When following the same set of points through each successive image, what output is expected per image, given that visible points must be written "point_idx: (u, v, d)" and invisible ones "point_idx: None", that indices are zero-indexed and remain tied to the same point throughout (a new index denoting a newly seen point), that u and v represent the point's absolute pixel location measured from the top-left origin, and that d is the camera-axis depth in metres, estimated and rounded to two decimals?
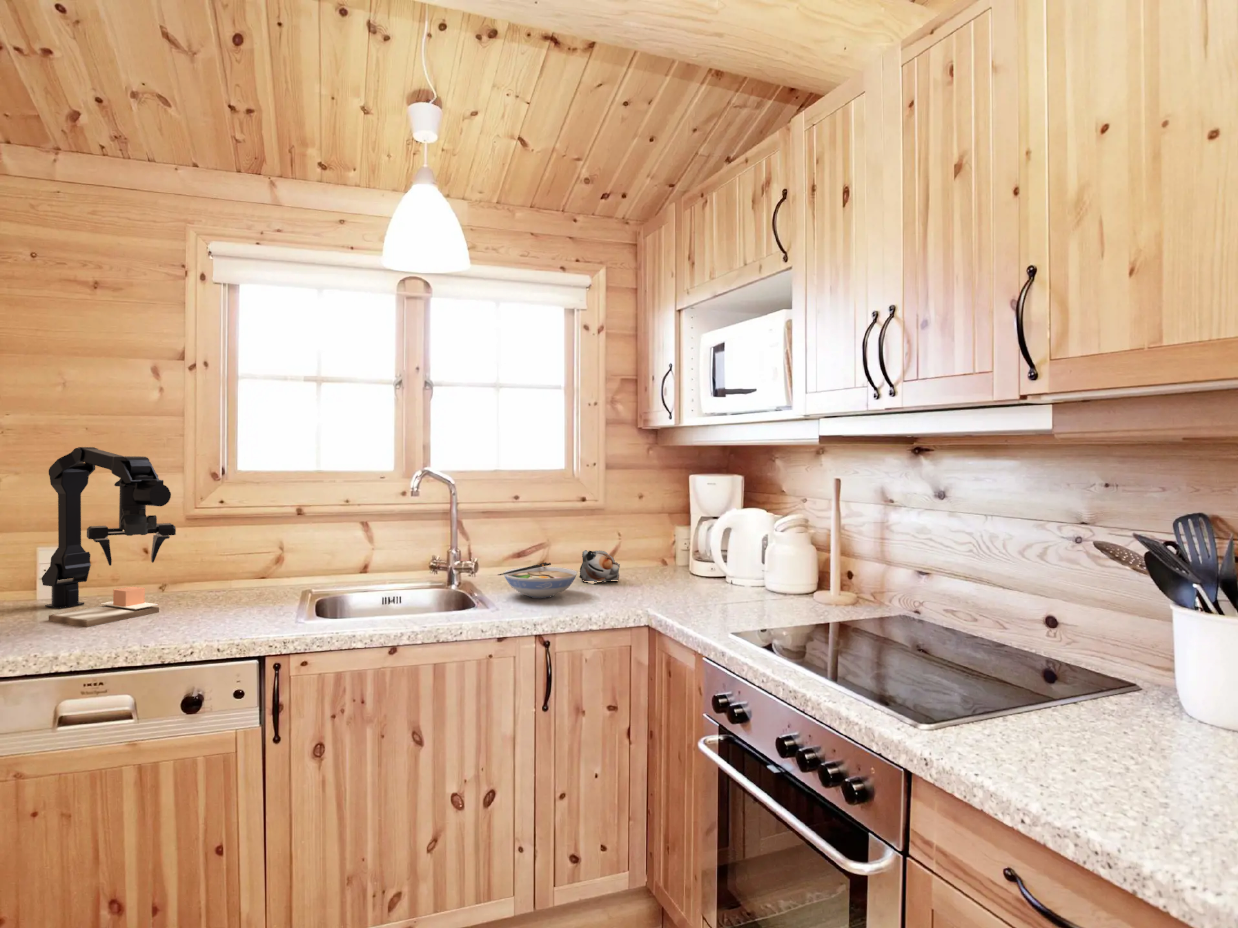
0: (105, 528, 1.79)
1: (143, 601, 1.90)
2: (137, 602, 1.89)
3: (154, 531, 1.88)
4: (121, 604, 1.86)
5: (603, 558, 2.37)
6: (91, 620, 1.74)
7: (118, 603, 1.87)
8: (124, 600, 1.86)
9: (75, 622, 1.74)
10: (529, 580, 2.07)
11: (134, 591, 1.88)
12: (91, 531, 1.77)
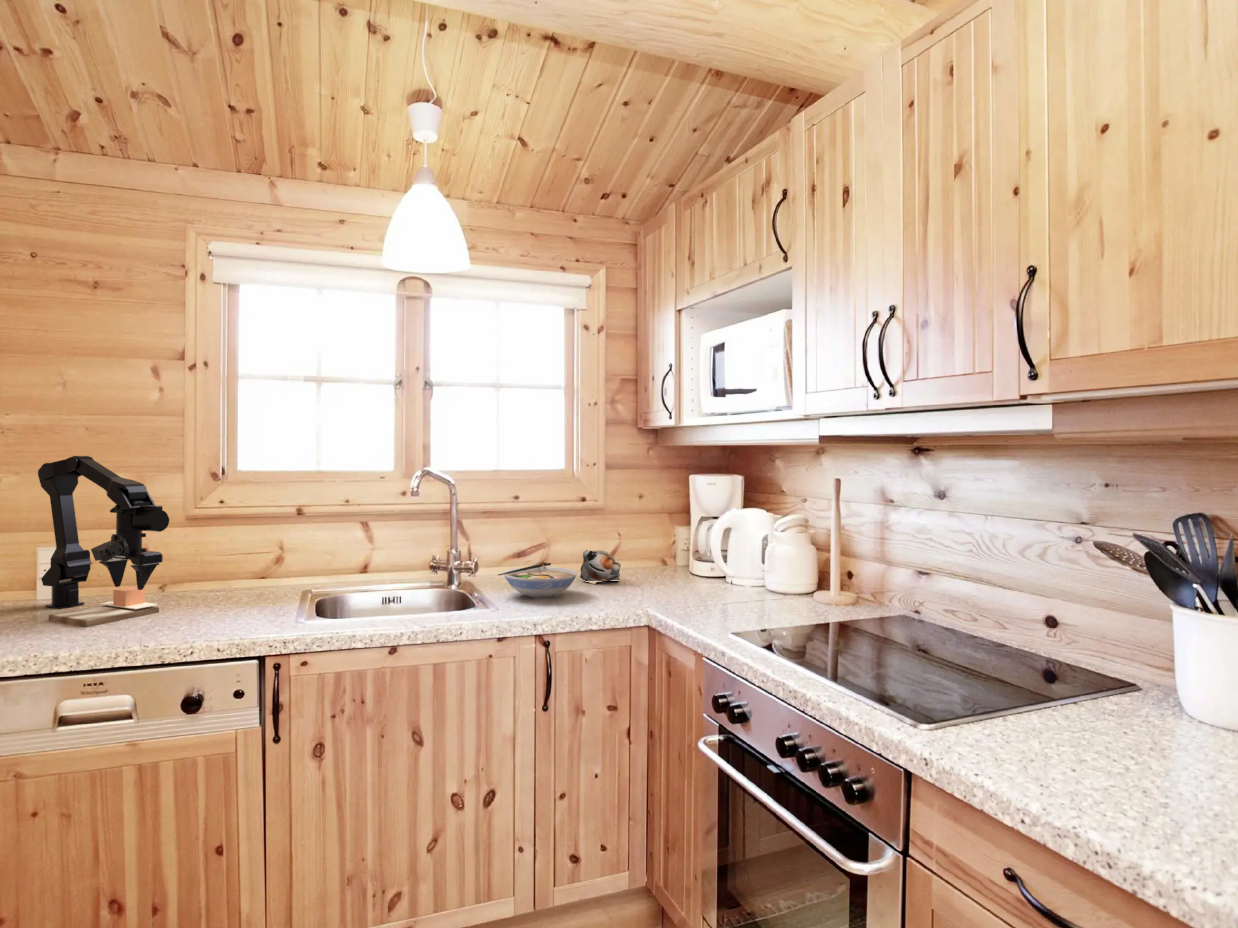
0: None
1: (143, 601, 1.90)
2: (137, 602, 1.89)
3: None
4: (121, 604, 1.86)
5: (604, 558, 2.37)
6: (91, 620, 1.74)
7: (118, 603, 1.87)
8: (124, 600, 1.86)
9: (75, 622, 1.74)
10: (529, 580, 2.07)
11: (134, 591, 1.88)
12: None
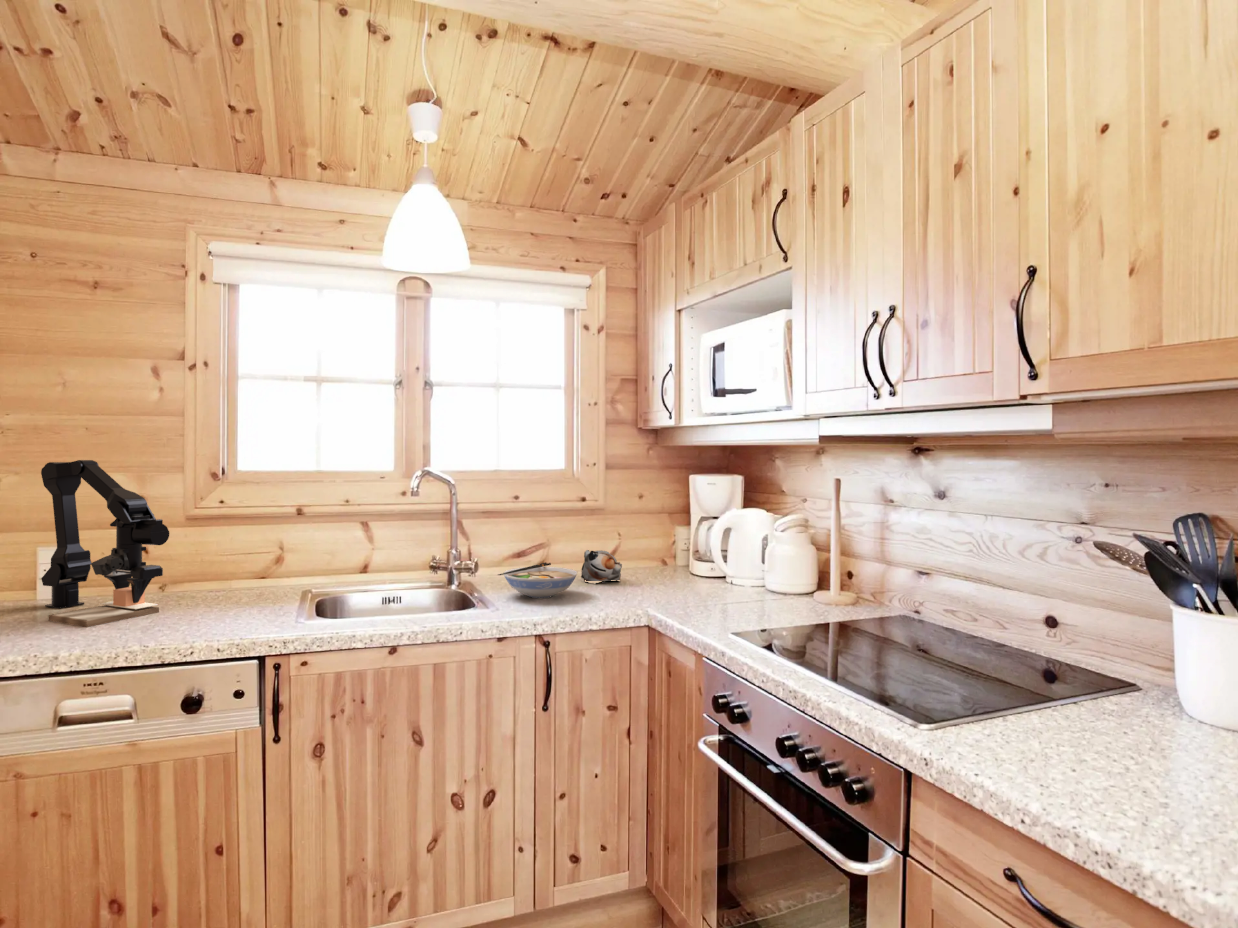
0: None
1: (143, 601, 1.90)
2: None
3: None
4: (121, 604, 1.86)
5: (605, 558, 2.37)
6: (91, 620, 1.74)
7: (118, 603, 1.87)
8: (124, 600, 1.86)
9: (75, 622, 1.74)
10: (529, 580, 2.07)
11: None
12: None
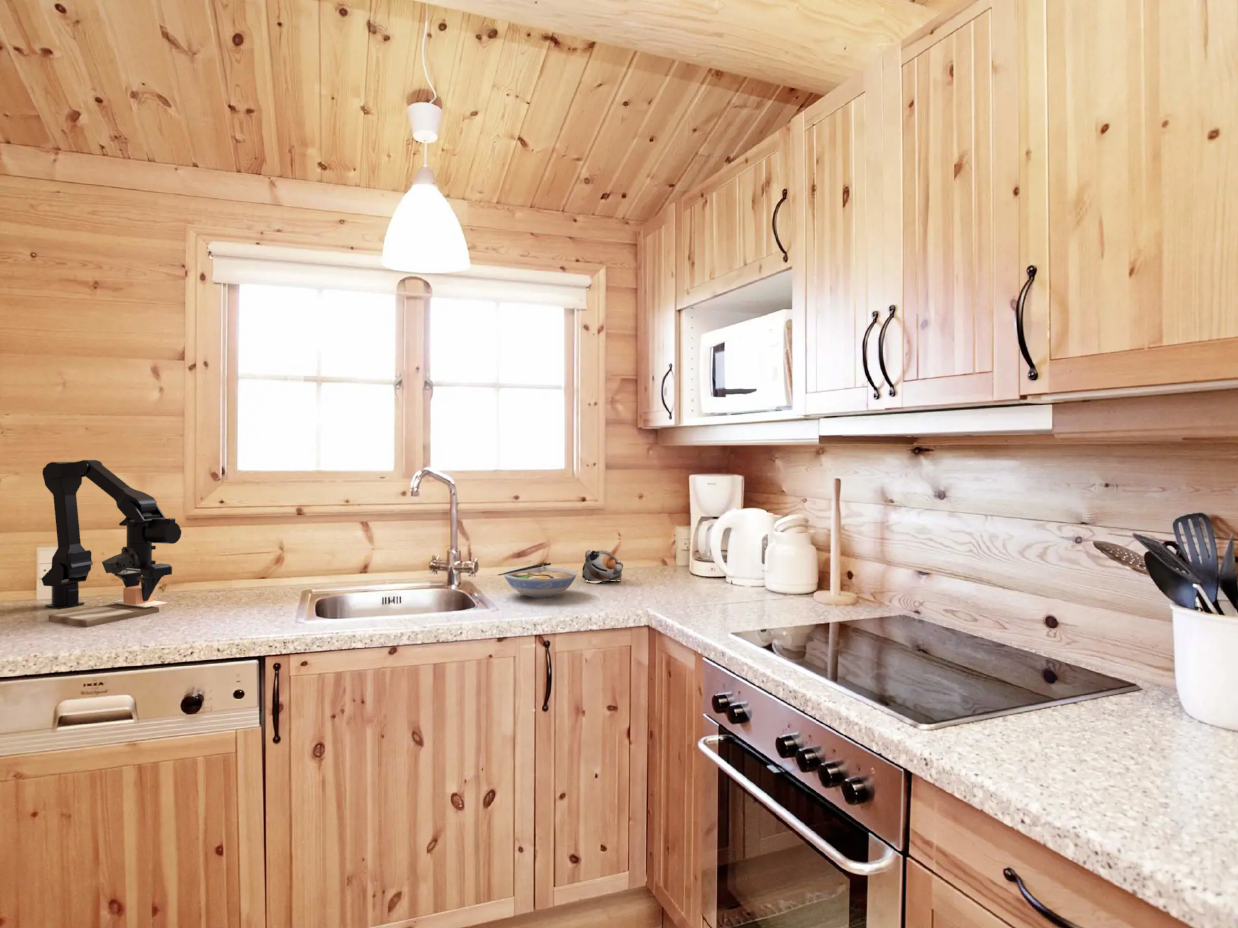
0: None
1: (153, 599, 1.93)
2: None
3: None
4: (131, 602, 1.89)
5: (607, 558, 2.37)
6: (91, 620, 1.74)
7: (128, 601, 1.89)
8: (134, 598, 1.88)
9: (75, 622, 1.74)
10: (529, 580, 2.07)
11: None
12: None
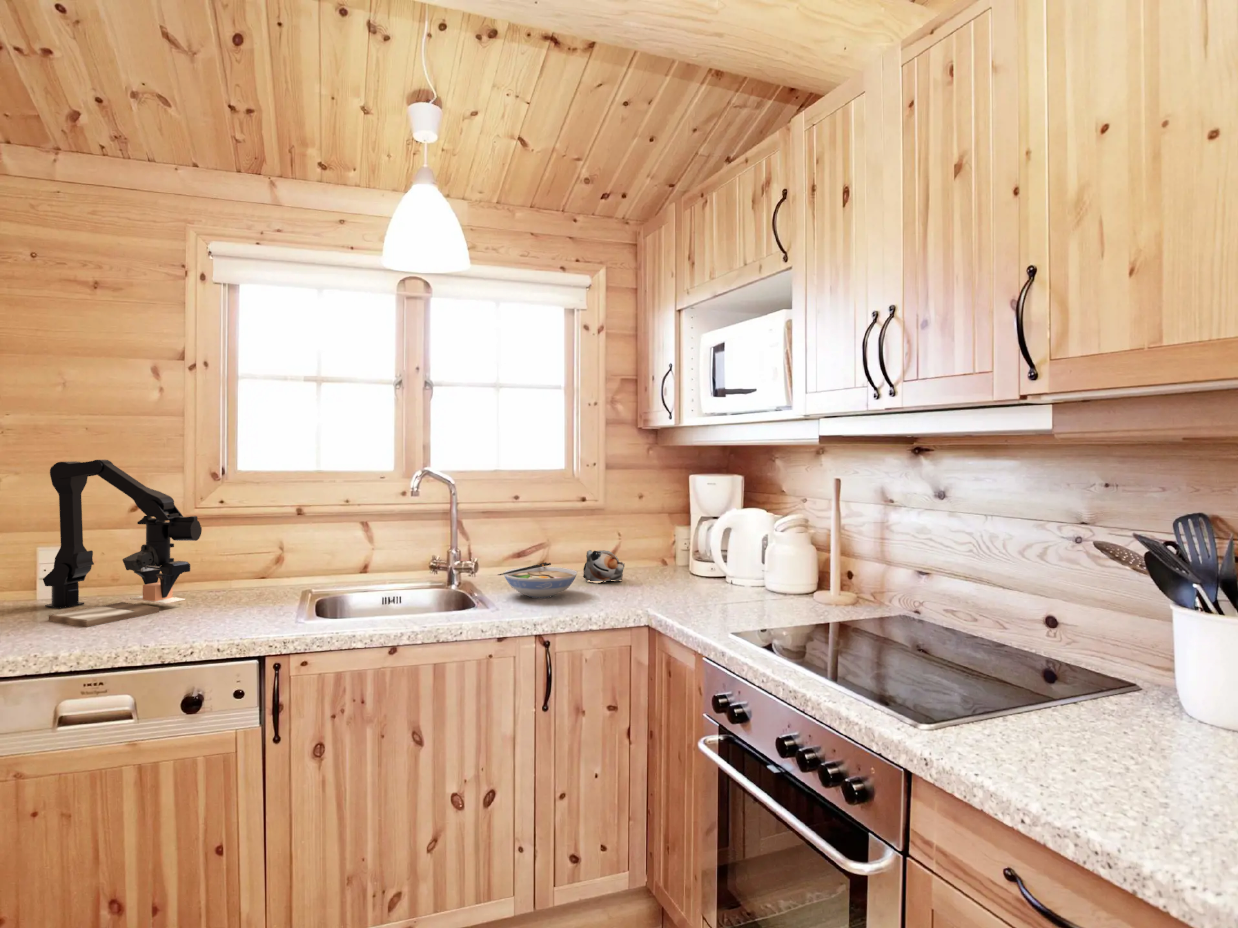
0: None
1: (171, 596, 1.97)
2: (165, 597, 1.96)
3: None
4: (150, 599, 1.94)
5: (608, 558, 2.38)
6: (91, 620, 1.74)
7: (148, 597, 1.94)
8: (153, 595, 1.93)
9: (75, 622, 1.74)
10: (529, 580, 2.07)
11: None
12: None
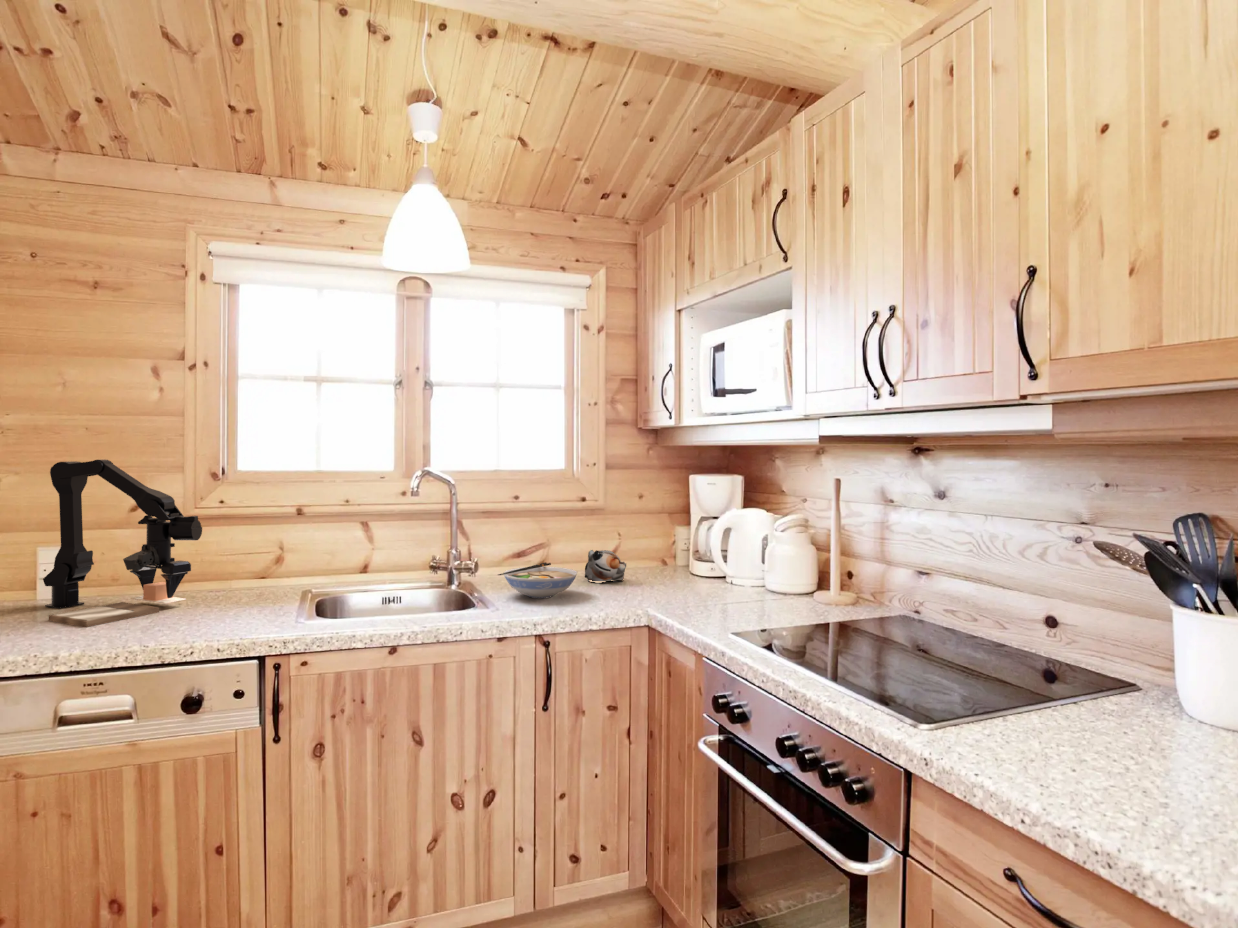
0: None
1: None
2: (166, 597, 1.96)
3: None
4: (151, 598, 1.94)
5: (610, 558, 2.38)
6: (91, 620, 1.74)
7: (148, 597, 1.94)
8: (154, 595, 1.93)
9: (75, 622, 1.74)
10: (529, 580, 2.07)
11: (163, 586, 1.95)
12: None
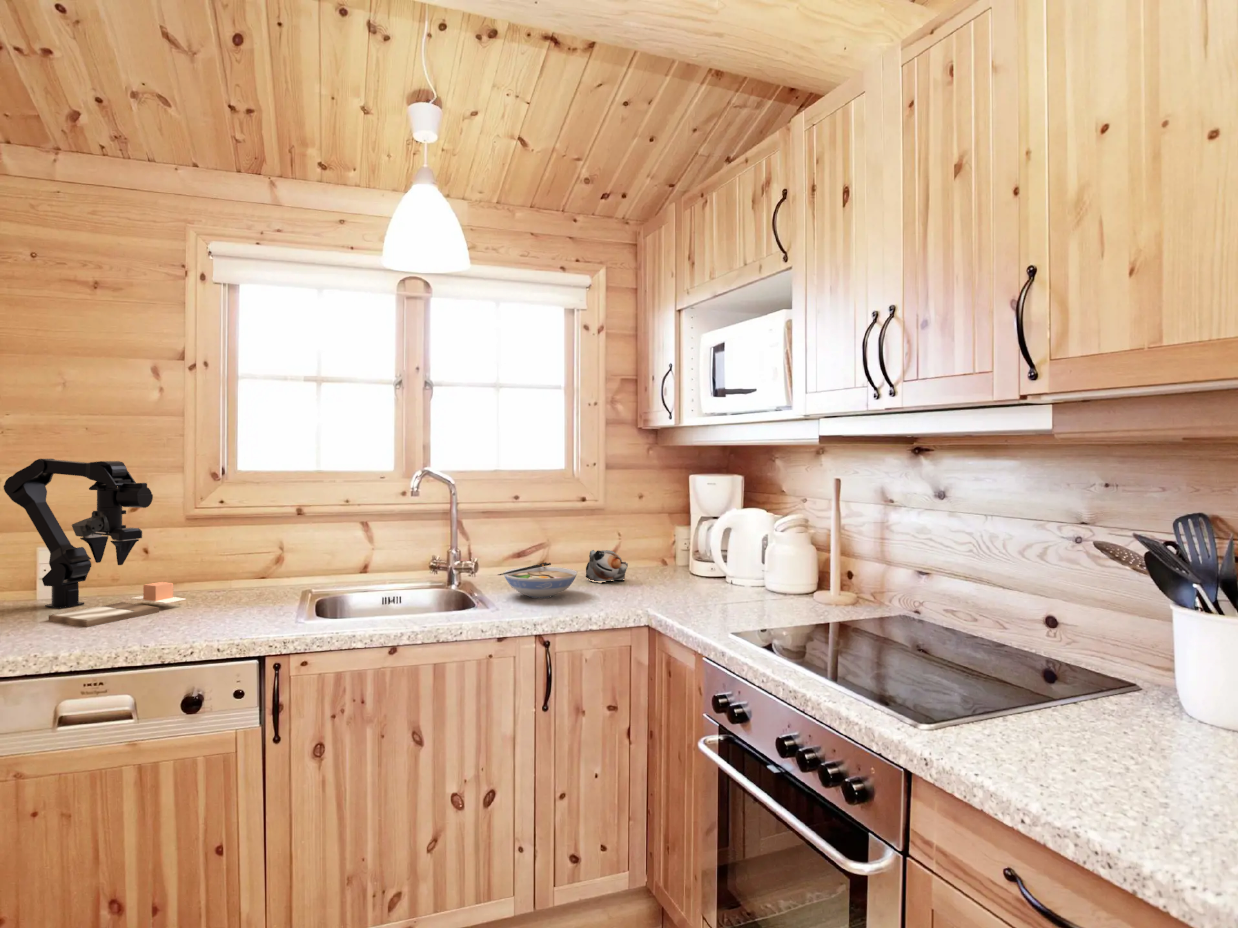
0: None
1: (172, 596, 1.98)
2: (166, 597, 1.96)
3: None
4: (151, 598, 1.94)
5: (611, 558, 2.38)
6: (91, 620, 1.74)
7: (148, 597, 1.94)
8: (154, 595, 1.93)
9: (75, 622, 1.74)
10: (529, 580, 2.07)
11: (163, 586, 1.95)
12: None
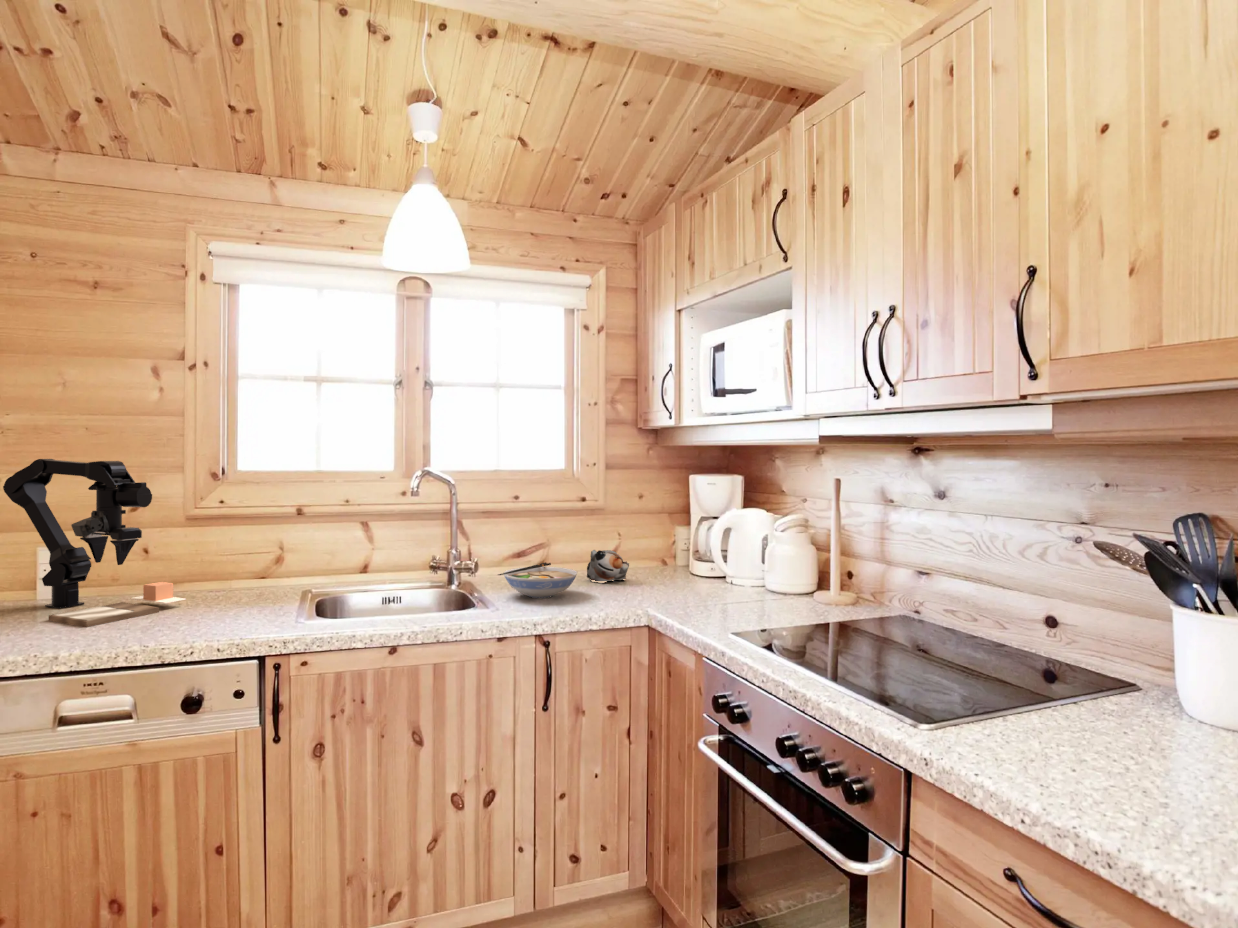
0: None
1: (172, 596, 1.98)
2: (166, 597, 1.96)
3: None
4: (151, 598, 1.94)
5: (613, 557, 2.38)
6: (91, 620, 1.74)
7: (148, 597, 1.94)
8: (154, 595, 1.93)
9: (75, 622, 1.74)
10: (529, 580, 2.07)
11: (163, 586, 1.95)
12: None
